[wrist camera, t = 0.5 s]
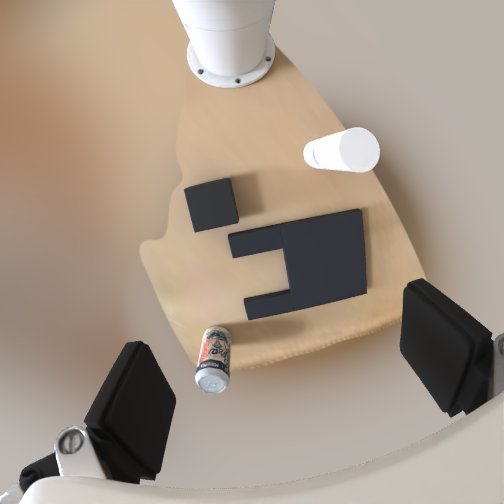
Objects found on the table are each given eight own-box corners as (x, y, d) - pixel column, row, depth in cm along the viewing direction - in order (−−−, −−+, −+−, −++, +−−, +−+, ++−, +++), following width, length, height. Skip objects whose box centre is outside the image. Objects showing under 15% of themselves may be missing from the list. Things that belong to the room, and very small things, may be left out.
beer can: (234, 327, 45) (232, 376, 34) (228, 348, 46) (226, 398, 35) (205, 322, 44) (196, 369, 33) (202, 343, 46) (192, 392, 34)
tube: (336, 148, 36) (385, 141, 22) (324, 173, 38) (369, 180, 23) (310, 134, 36) (348, 119, 22) (298, 160, 37) (331, 158, 23)
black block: (188, 187, 38) (183, 189, 34) (229, 177, 37) (228, 178, 34) (198, 226, 39) (194, 232, 36) (238, 218, 39) (238, 223, 36)
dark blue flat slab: (228, 234, 40) (227, 236, 39) (357, 208, 39) (361, 210, 38) (248, 315, 44) (248, 320, 43) (363, 289, 44) (366, 293, 42)
